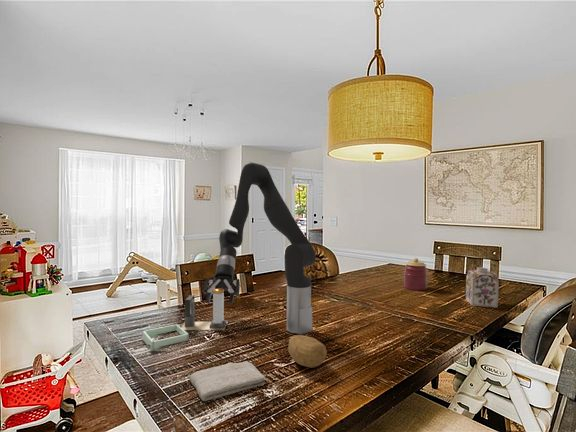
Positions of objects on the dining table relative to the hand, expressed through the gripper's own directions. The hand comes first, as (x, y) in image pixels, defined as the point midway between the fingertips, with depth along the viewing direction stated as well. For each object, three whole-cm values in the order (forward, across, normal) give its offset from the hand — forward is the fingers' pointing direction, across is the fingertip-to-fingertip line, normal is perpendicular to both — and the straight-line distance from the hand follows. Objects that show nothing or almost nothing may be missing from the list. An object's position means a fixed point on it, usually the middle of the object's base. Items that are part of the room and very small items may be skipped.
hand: (219, 303), depth 133 cm
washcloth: (+36, +12, -22) cm, 44 cm away
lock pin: (+7, 0, +5) cm, 8 cm away
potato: (+28, +33, -14) cm, 46 cm away
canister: (-44, +100, +57) cm, 123 cm away
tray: (+17, -16, -4) cm, 23 cm away
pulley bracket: (+8, -6, +6) cm, 11 cm away
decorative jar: (-22, +122, +35) cm, 129 cm away
